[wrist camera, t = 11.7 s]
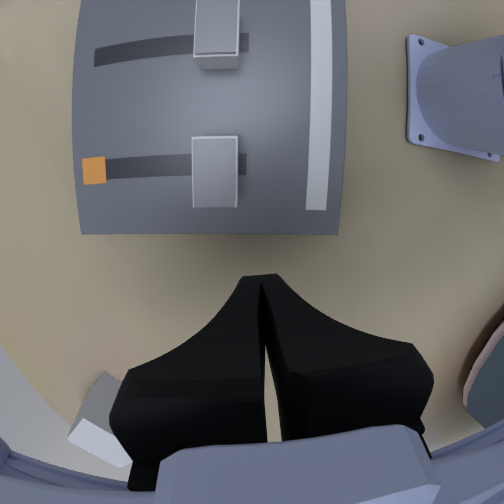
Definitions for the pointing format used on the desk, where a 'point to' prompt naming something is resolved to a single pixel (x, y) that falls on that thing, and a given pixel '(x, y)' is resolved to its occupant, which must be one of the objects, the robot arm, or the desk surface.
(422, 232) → the desk surface
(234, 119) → the panel
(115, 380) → the grey cube
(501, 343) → the desk lamp
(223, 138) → the block
